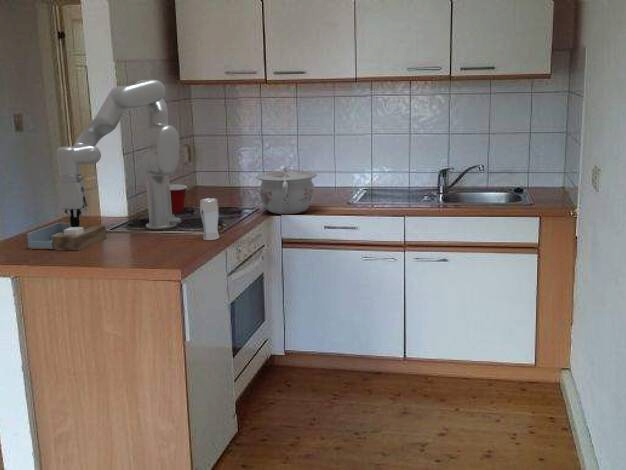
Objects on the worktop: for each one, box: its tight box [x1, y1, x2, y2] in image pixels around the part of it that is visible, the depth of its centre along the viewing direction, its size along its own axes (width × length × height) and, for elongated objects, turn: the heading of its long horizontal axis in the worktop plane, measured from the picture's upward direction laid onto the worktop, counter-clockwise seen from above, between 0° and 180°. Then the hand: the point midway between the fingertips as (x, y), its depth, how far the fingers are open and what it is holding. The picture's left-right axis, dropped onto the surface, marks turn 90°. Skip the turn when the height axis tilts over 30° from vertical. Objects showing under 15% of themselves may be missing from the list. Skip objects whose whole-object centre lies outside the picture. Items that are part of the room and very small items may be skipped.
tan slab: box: [52, 225, 108, 251], centre depth 263 cm, size 10×20×5 cm, turn 166°
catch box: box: [26, 222, 81, 249], centre depth 265 cm, size 10×20×6 cm, turn 166°
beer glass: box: [199, 197, 220, 241], centre depth 264 cm, size 7×7×15 cm
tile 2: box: [64, 227, 84, 236], centre depth 258 cm, size 5×5×2 cm
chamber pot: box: [255, 166, 318, 216], centre depth 311 cm, size 28×28×21 cm
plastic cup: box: [170, 184, 188, 213], centre depth 323 cm, size 11×11×12 cm
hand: (75, 226), depth 267 cm, fingers closed
